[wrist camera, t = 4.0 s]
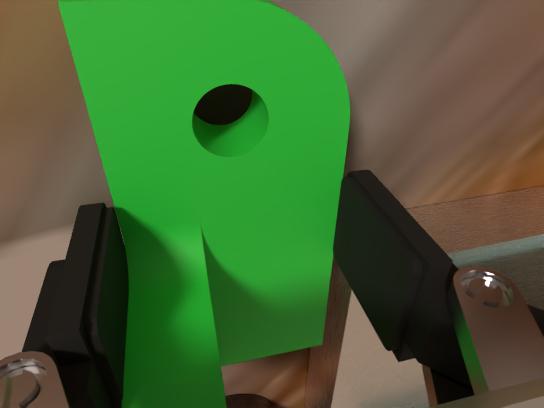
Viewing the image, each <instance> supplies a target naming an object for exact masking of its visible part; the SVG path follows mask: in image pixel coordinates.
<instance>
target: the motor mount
mask: <svg viewBox="0 0 544 408" xmlns="http://www.w3.org/2000/svg"><path fill="white" fill-rule="evenodd" d="M406 210H407V211H408V212H409V213H410V215H411V216H412V217H413V218H414V219H415V220H416V221H417V222H418V223H419V224H420V225H421V227H422V228H423V229H424V230H425V231H426V232H427V233H428V234H429V235H430V236H431V237H432V239H433V240H434V241H435V242H436V243H437V244H438V245H439V246H440V247H441V248H442V249H443V250H444V252H445V253H446V254H447V255H448V256H449V257H450V258H451V259H452V260H453V261H452V262H453V264H454V265H455V266H456V267H457V268H458V269H461V268H464V267H468V266H479V267H484V268H488V269H491V270H494V271H496V272H499V273H500V274H502V275H504V276H505V277H507V278H508V279H509V280H511V281H512V282H513V283H514V284H515V285H516V286H517V288H518V289H519V291H520V292H521V294H522V296H523V298H524V300H525V302H526V304H528V305H531V306H533V307H536V308H539V309H542V310H544V186H540V187H535V188H529V189H523V190H517V191H511V192H505V193H500V194H494V195H488V196H482V197H476V198H470V199H464V200H459V201H453V202H447V203H441V204H435V205H429V206H424V207H418V208H412V209H406ZM225 399H226V406H227V408H273V405H272V404H271V402H270V401H268V400H267V399H265V398H264V397H261V396H257V395H251V394H239V395H231V396H226V397H225ZM429 407H430V406H429V401H428V396H427V391H426V386H425V381H424V375H423V370H422V364H420V363H418V362H417V360H416V358H414V359H410V360H406V361H402V362H398V361H397V359H396V357H395V356H394V354H393V352H392V351H387V350H386V349H385V348H384V346H383V344H382V343H381V341H380V339H379V337H378V335H377V334H376V332H375V330H374V328H373V327H372V325H371V323H370V321H369V319H368V318H367V316H366V314H365V312H364V310H363V309H362V307H361V305H360V303H359V302H358V300H357V298H356V296H355V294H354V293H353V291H352V289H351V287H350V285H349V284H348V282H347V280H346V278H345V277H344V275H343V273H342V271H341V269H340V268H339V266H338V264H337V262H336V260H335V258H334V255H333V262H332V270H331V278H330V286H329V294H328V302H327V310H326V318H325V326H324V334H323V342H322V345H318V346H314V347H310V356H309V366H308V376H307V385H306V395H305V405H304V408H429Z"/></svg>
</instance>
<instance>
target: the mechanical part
mask: <svg viewBox="0 0 544 408" xmlns="http://www.w3.org/2000/svg"><path fill="white" fill-rule="evenodd" d="M58 5H59V8H60V12H61V16H62V19H63V23H64V26H65V30H66V34H67V37H68V41H69V44H70V48H71V52H72V55H73V59H74V62H75V66H76V70H77V73H78V77H79V80H80V84H81V88H82V91H83V95H84V98H85V102H86V106H87V109H88V113H89V116H90V120H91V124H92V127H93V131H94V134H95V138H96V142H97V145H98V149H99V152H100V156H101V160H102V163H103V167H104V170H105V174H106V178H107V181H108V185H109V188H110V192H111V196H112V199H113V203H114V206H115V210H116V214H117V217H118V221H119V224H120V228H121V232H122V235H123V240H124V244H125V250H126V256H127V264H128V276H129V300H128V316H127V332H126V347H125V363H124V382H123V399H122V408H227V406H226V399H225V392H224V385H223V378H222V372H221V366H225V365H230V364H234V363H239V362H244V361H248V360H253V359H258V358H262V357H267V356H272V355H276V354H281V353H286V352H290V351H295V350H300V349H304V348H309V347H314V346H318V345H322V342H323V334H324V326H325V318H326V310H327V302H328V294H329V286H330V278H331V270H332V262H333V243H334V235H335V227H336V219H337V211H338V204H339V196H340V188H341V181H342V179H343V173H344V165H345V157H346V149H347V141H348V133H349V124H350V101H349V94H348V89H347V85H346V81H345V77H344V75H343V72H342V70H341V67H340V65H339V63H338V61H337V59H336V57H335V55H334V54H333V52H332V51H331V49H330V48H329V47H328V45H327V44H326V43H325V41H324V40H323V39H322V38H321V37H320V36H319V34H317V33H316V32H315V31H314V30H313V29H312V28H311V27H310V26H309V25H307V24H306V23H305V22H303V21H302V20H301V19H299V18H298V17H296V16H295V15H293V14H291V13H290V12H288V11H286V10H285V9H283V8H281V7H279V6H278V5H276V4H274V3H273V2H271V1H269V0H59V1H58ZM225 84H238V85H243V86H246V87H248V88H250V89H252V100H251V103H250V106H249V108H248V110H247V111H246V112H245V114H244V115H243V116H242V117H241V118H239V119H238V120H236V121H234V122H232V123H230V124H226V125H213V124H209V123H206V122H204V121H202V120H201V119H199V118H198V117H197V116H196V115H195V114H194V113H193V112H194V109H195V107H196V105H197V103H198V101H199V100H200V99H201V98H202V96H203V95H205V94H206V93H207V92H208V91H210V90H211V89H213V88H215V87H218V86H221V85H225Z"/></svg>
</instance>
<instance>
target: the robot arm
mask: <svg viewBox="0 0 544 408" xmlns="http://www.w3.org/2000/svg"><path fill="white" fill-rule="evenodd" d="M333 255H334V258H335V260H336V262H337V264H338V266H339V268H340V269H341V271H342V273H343V275H344V277H345V278H346V280H347V282H348V284H349V285H350V287H351V289H352V291H353V293H354V294H355V296H356V298H357V300H358V302H359V303H360V305H361V307H362V309H363V310H364V312H365V314H366V316H367V318H368V319H369V321H370V323H371V325H372V327H373V328H374V330H375V332H376V334H377V335H378V337H379V339H380V341H381V343H382V344H383V346H384V348H385V349H386V350H387V351H392V352H393V354H394V356H395V357H396V359H397V361H398V362H402V361H406V360H410V359H414V358H416V360H417V362H418V363H420V364H422V370H423V375H424V381H425V386H426V391H427V396H428V401H429V406H430V407H429V408H544V310H542V309H539V308H536V307H533V306H531V305H528V304H526V302H525V300H524V298H523V296H522V294H521V292H520V291H519V289H518V288H517V286H516V285H515V284H514V283H513V282H512V281H511V280H509V279H508V278H507V277H505V276H504V275H502V274H500V273H499V272H496V271H494V270H491V269H488V268H484V267H479V266H468V267H464V268H461V269H458V268H457V267H456V266H455V265H454V264H453V262H452V261H453V260H452V259H451V258H450V257H449V256H448V255H447V254H446V253H445V252H444V250H443V249H442V248H441V247H440V246H439V245H438V244H437V243H436V242H435V241H434V240H433V239H432V237H431V236H430V235H429V234H428V233H427V232H426V231H425V230H424V229H423V228H422V227H421V225H420V224H419V223H418V222H417V221H416V220H415V219H414V218H413V217H412V216H411V215H410V213H409V212H408V211H407V210H406V209H405V208H404V207H403V206H402V205H401V204H400V203H399V201H398V200H397V199H396V198H395V197H394V196H393V195H392V194H391V193H390V192H389V191H388V190H387V188H386V187H385V186H384V185H383V184H382V183H381V182H380V181H379V180H378V179H377V178H376V176H375V175H374V174H373V173H372V172H371V171H370V170H360V171H352V172H349V173H348V174H347V177H344V178H343V179H342V181H341V188H340V196H339V204H338V211H337V219H336V227H335V235H334V243H333ZM128 300H129V276H128V264H127V256H126V250H125V245H124V241H123V238H122V234H121V230H120V227H119V223H118V219H117V216H116V212H115V209H114V208H113V207H110V208H106V205H105V203H97V204H89V205H81V206H80V207H79V209H78V213H77V217H76V221H75V225H74V228H73V232H72V236H71V240H70V244H69V247H68V251H67V255H66V259H65V260H59V261H52V262H51V263H50V264H49V267H48V269H47V272H46V275H45V279H44V282H43V285H42V288H41V292H40V295H39V298H38V302H37V304H36V308H35V311H34V314H33V317H32V320H31V324H30V327H29V330H28V333H27V337H26V340H25V343H24V347H23V350H22V352H20V353H17V354H14V355H11V356H8V357H6V358H4V359H2V360H0V408H122V399H123V382H124V363H125V347H126V332H127V316H128Z"/></svg>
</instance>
